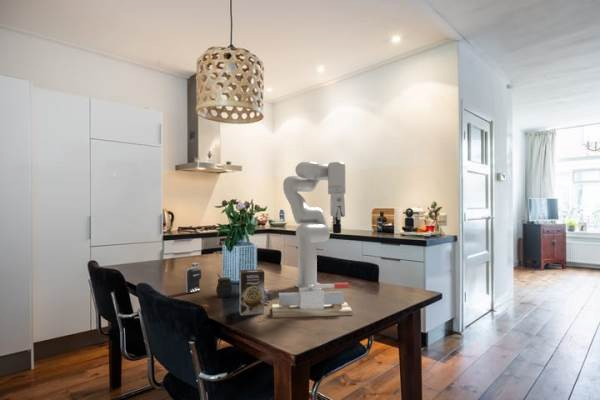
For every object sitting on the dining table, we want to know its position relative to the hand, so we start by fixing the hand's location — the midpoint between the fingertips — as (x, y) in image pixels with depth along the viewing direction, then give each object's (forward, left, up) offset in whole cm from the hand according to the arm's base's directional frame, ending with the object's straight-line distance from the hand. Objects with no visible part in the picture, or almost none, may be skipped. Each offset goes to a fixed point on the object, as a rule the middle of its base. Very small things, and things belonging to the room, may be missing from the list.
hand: (337, 233), depth 151 cm
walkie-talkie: (-6, -32, -30) cm, 44 cm away
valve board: (+14, -13, -29) cm, 35 cm away
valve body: (+14, -13, -28) cm, 34 cm away
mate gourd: (-13, -50, -29) cm, 59 cm away
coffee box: (+13, -36, -29) cm, 48 cm away
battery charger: (-21, -65, -29) cm, 74 cm away
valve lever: (+14, -6, -20) cm, 26 cm away
